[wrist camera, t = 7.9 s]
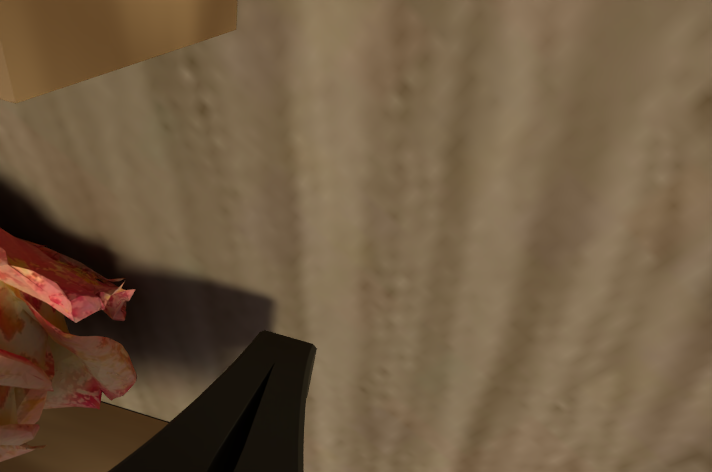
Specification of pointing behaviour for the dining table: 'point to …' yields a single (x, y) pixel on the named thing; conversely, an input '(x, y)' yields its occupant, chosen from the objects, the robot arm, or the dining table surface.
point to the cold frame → (63, 68)
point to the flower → (53, 339)
